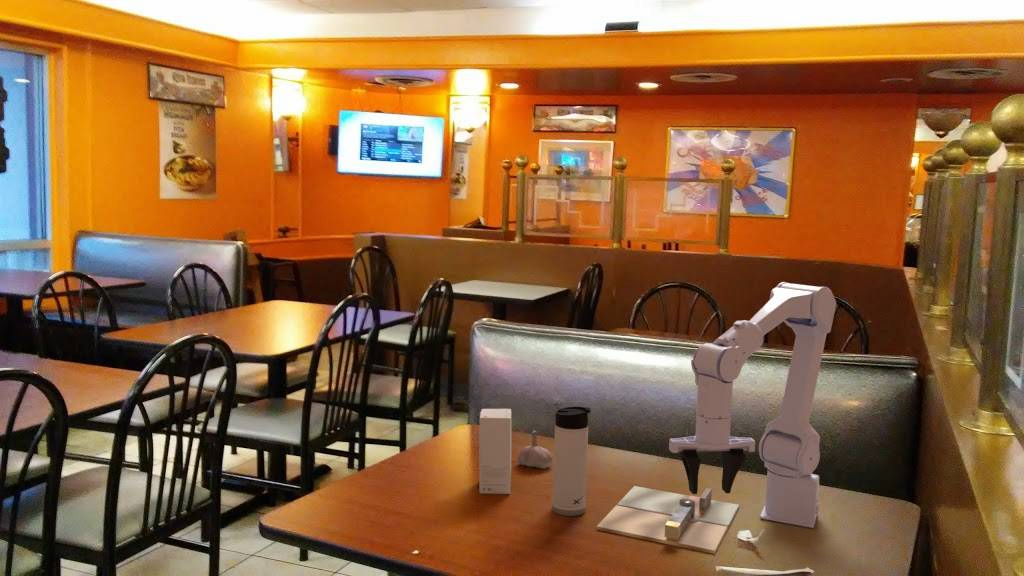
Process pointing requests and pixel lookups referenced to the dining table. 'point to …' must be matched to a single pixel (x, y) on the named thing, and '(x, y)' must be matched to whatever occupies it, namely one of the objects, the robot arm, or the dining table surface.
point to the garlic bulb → (535, 455)
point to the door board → (653, 508)
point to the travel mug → (570, 461)
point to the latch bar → (680, 519)
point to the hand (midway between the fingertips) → (709, 491)
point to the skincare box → (495, 451)
